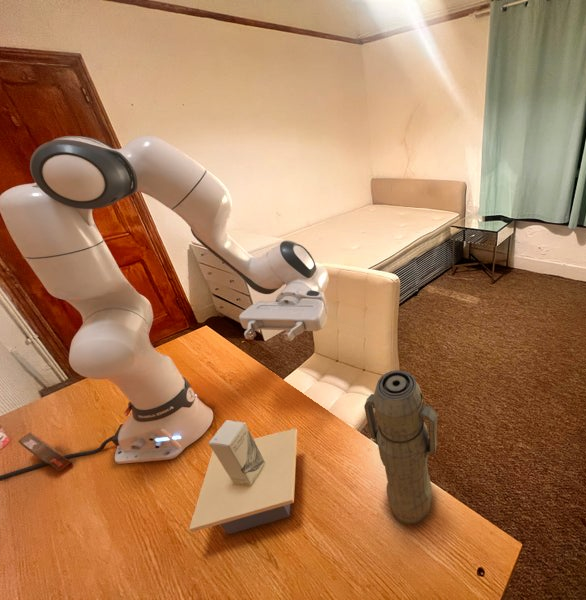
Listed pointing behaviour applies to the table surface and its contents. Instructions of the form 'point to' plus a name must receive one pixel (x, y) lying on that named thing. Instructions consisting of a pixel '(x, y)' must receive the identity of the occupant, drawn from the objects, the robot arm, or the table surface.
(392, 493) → the thermos
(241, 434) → the box
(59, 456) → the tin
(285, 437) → the stand
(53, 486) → the table surface
